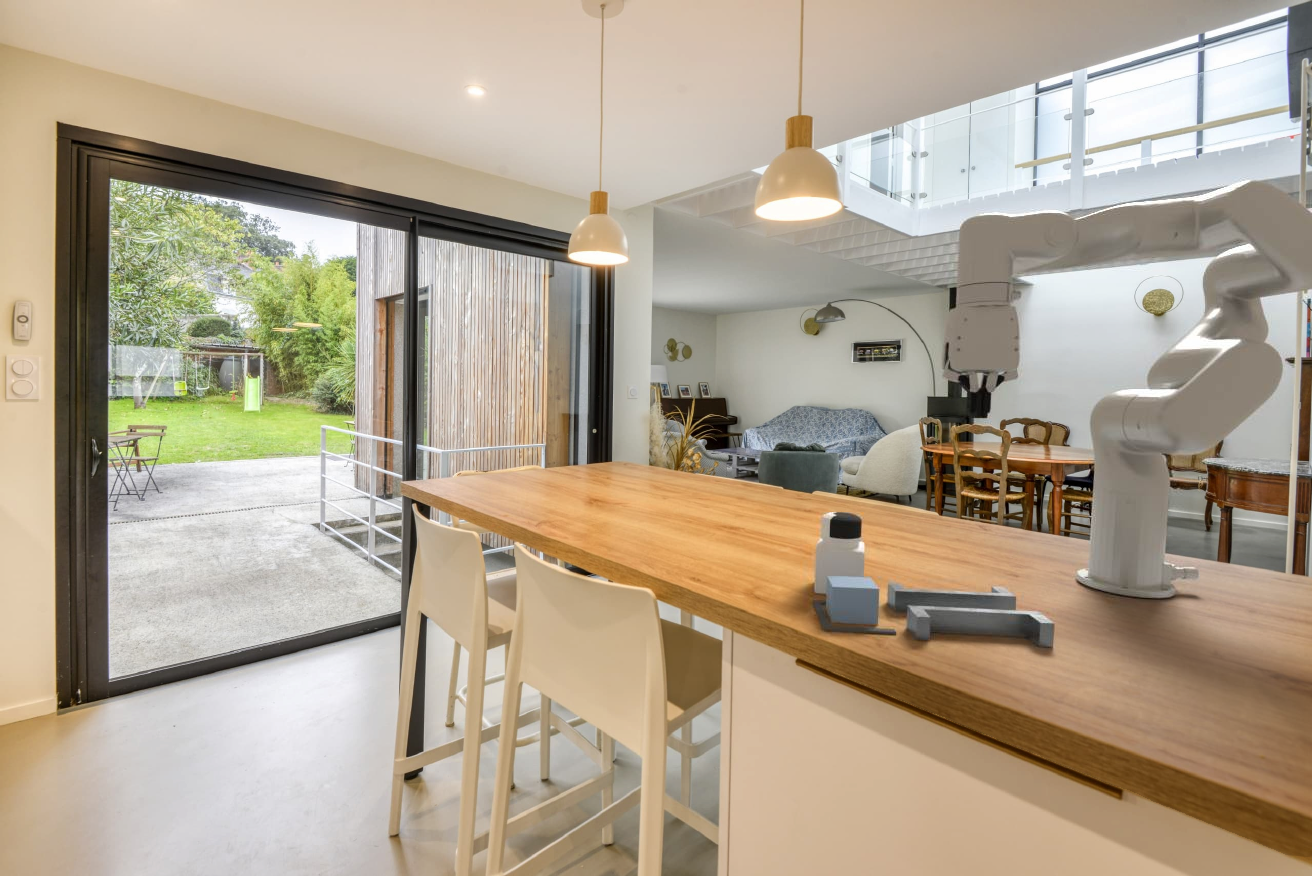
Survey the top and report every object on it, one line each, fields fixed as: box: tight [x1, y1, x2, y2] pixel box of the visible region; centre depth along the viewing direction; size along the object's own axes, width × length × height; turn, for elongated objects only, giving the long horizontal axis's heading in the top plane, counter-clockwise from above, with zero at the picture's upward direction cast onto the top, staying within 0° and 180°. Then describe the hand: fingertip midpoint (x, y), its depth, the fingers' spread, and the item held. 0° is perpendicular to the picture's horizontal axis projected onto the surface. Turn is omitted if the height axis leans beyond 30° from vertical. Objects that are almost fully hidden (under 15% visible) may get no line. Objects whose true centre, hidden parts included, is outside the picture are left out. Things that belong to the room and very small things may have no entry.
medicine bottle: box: [814, 511, 866, 595], centre depth 94 cm, size 7×7×12 cm
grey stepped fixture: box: [886, 581, 1055, 648], centre depth 81 cm, size 16×14×3 cm
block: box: [825, 576, 880, 626], centre depth 82 cm, size 6×5×5 cm
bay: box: [812, 599, 897, 635], centre depth 82 cm, size 9×11×1 cm
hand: (977, 417), depth 94 cm, fingers closed
